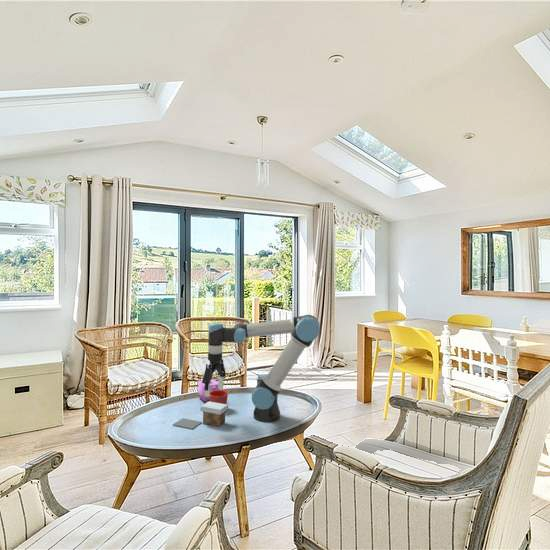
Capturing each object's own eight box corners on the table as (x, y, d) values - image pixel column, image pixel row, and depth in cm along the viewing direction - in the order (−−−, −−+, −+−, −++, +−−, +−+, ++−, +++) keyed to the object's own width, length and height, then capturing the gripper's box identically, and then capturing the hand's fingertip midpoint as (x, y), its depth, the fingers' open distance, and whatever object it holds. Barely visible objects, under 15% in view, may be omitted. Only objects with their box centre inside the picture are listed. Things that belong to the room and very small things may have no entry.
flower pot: (224, 413, 211) (224, 396, 211) (206, 412, 213) (206, 395, 213) (230, 407, 221) (230, 390, 221) (212, 405, 223) (213, 389, 223)
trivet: (201, 423, 197) (201, 421, 197) (192, 429, 189) (192, 428, 189) (183, 419, 202) (183, 418, 202) (172, 425, 194) (172, 424, 194)
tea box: (225, 422, 198) (225, 409, 198) (219, 426, 193) (219, 413, 193) (209, 419, 202) (209, 406, 202) (202, 423, 197) (203, 410, 197)
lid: (227, 412, 199) (227, 404, 199) (220, 417, 192) (220, 409, 191) (208, 408, 203) (208, 401, 203) (200, 413, 196) (200, 406, 196)
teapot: (196, 396, 239) (197, 377, 239) (211, 394, 243) (212, 375, 243) (206, 406, 221) (206, 385, 221) (222, 404, 226) (222, 383, 226)
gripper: (220, 347, 210) (219, 384, 210) (195, 356, 187) (194, 398, 187) (232, 349, 207) (231, 386, 208) (208, 358, 184) (207, 400, 184)
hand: (214, 392), depth 197 cm, fingers open, 13 cm apart
